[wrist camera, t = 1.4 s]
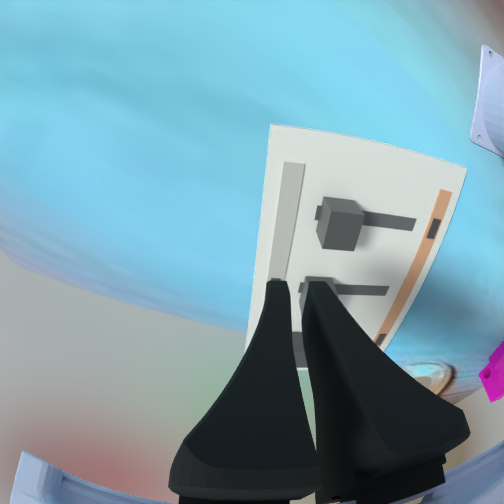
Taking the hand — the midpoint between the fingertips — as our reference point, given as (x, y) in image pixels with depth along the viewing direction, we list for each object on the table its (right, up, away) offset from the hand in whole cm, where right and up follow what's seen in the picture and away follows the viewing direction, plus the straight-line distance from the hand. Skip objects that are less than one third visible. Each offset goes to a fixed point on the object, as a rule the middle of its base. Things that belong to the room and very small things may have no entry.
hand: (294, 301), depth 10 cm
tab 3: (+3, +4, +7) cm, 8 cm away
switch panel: (+5, 0, +11) cm, 13 cm away
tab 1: (+2, -6, +13) cm, 15 cm away
